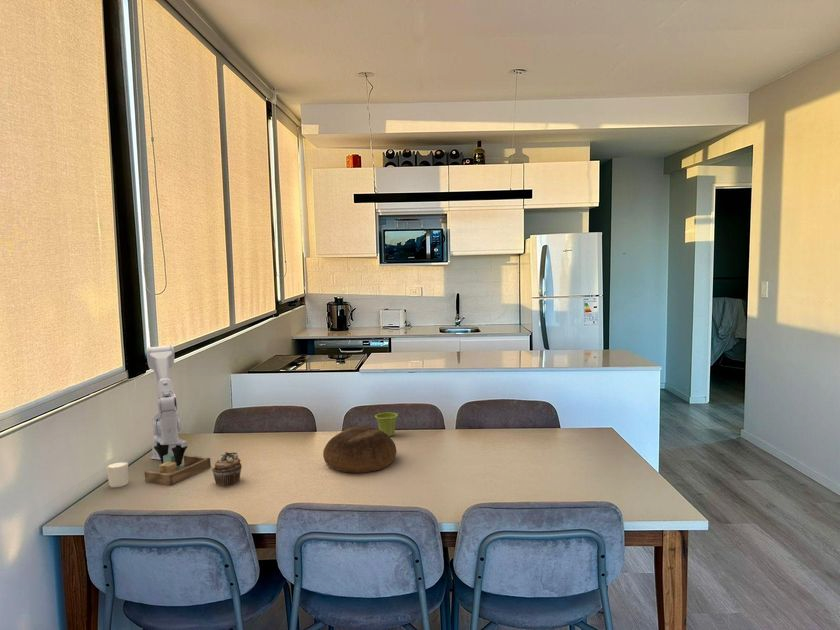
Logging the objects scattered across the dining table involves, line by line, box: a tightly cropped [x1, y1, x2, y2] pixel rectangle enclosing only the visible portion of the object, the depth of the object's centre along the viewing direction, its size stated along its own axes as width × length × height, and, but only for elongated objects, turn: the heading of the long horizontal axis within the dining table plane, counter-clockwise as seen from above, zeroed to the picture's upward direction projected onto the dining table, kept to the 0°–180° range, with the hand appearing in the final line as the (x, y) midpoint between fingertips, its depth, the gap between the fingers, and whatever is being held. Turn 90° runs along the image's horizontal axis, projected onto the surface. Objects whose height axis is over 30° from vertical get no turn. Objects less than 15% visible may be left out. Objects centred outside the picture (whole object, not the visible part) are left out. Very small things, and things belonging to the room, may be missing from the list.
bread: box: [322, 425, 398, 474], centre depth 221 cm, size 26×27×13 cm
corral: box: [144, 454, 212, 486], centre depth 215 cm, size 12×19×4 cm, turn 156°
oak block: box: [158, 462, 178, 474], centre depth 212 cm, size 4×4×5 cm
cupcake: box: [211, 451, 242, 487], centre depth 205 cm, size 10×10×10 cm
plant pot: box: [375, 412, 399, 438], centre depth 254 cm, size 9×9×9 cm
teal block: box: [163, 453, 181, 469], centre depth 223 cm, size 4×4×5 cm
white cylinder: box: [105, 461, 129, 488], centre depth 207 cm, size 7×7×7 cm
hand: (171, 464), depth 223 cm, fingers open, 6 cm apart
